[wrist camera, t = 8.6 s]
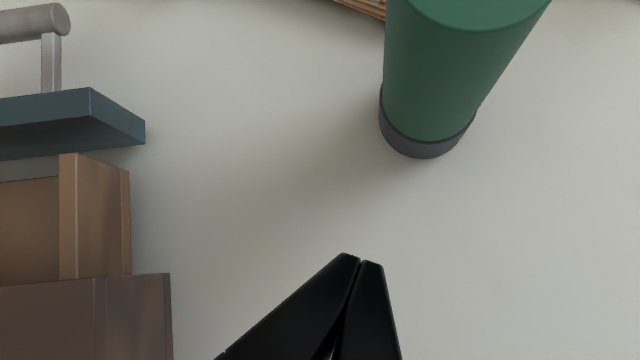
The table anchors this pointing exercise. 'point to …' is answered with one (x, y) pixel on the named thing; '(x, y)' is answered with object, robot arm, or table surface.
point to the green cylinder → (445, 66)
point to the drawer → (62, 168)
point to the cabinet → (88, 319)
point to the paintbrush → (367, 7)
